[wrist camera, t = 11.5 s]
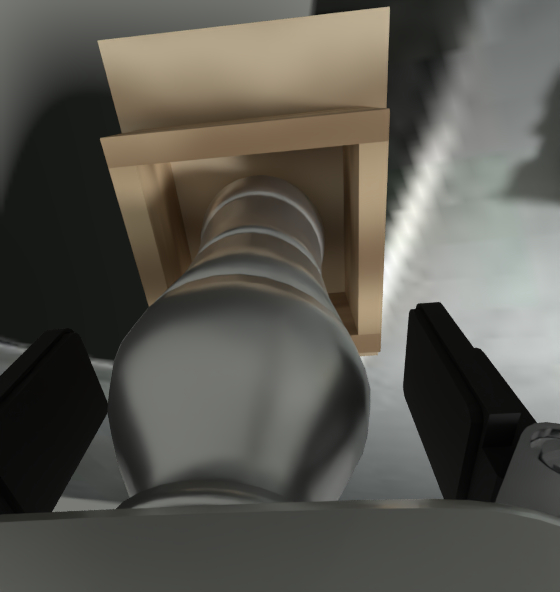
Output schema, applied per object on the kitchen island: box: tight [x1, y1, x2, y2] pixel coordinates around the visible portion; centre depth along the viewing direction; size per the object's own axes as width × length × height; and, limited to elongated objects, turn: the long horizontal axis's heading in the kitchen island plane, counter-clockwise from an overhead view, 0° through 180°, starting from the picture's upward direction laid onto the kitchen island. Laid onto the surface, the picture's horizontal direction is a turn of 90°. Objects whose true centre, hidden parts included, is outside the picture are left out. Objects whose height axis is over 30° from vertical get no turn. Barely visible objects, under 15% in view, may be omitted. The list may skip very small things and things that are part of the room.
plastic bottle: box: [107, 175, 370, 509], centre depth 14 cm, size 6×7×20 cm
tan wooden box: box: [98, 7, 390, 356], centre depth 21 cm, size 20×14×6 cm
